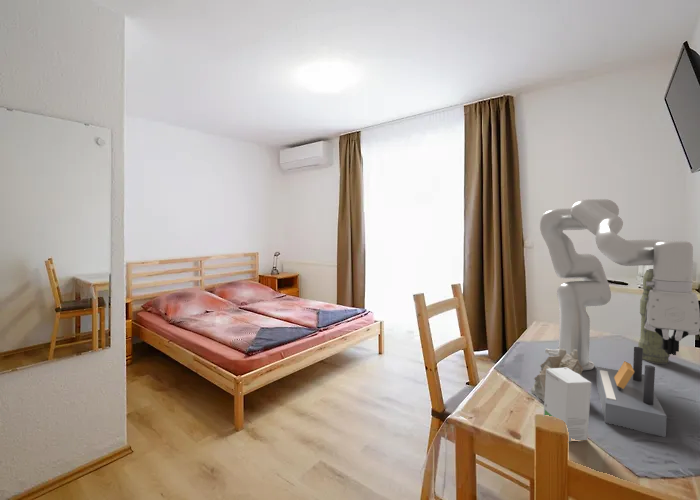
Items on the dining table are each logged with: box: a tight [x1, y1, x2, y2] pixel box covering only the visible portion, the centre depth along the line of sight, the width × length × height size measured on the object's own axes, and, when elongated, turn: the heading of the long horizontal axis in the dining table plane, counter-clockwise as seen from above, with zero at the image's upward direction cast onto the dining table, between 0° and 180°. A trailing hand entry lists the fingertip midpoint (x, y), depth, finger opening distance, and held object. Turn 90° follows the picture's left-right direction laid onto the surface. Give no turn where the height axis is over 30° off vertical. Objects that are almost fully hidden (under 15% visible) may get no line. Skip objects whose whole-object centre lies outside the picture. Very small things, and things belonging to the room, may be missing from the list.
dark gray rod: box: [643, 364, 656, 405], centre depth 87 cm, size 2×2×10 cm
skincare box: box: [543, 367, 592, 441], centre depth 84 cm, size 8×7×16 cm
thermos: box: [637, 268, 671, 365], centre depth 126 cm, size 9×12×35 cm
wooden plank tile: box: [614, 361, 634, 391], centre depth 96 cm, size 2×6×7 cm, turn 149°
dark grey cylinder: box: [632, 346, 643, 382], centre depth 100 cm, size 2×2×10 cm
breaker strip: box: [595, 366, 668, 438], centre depth 96 cm, size 12×26×6 cm, turn 147°
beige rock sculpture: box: [530, 349, 584, 401], centre depth 105 cm, size 16×16×15 cm
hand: (670, 353), depth 90 cm, fingers closed
